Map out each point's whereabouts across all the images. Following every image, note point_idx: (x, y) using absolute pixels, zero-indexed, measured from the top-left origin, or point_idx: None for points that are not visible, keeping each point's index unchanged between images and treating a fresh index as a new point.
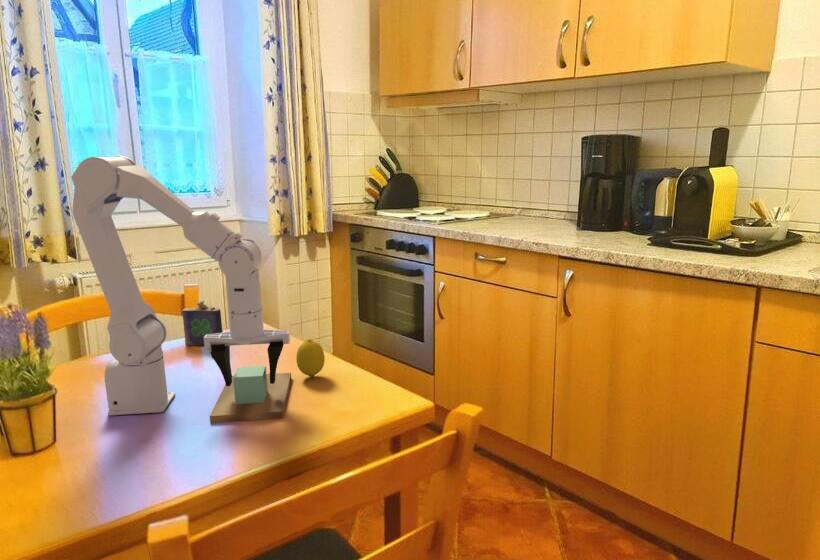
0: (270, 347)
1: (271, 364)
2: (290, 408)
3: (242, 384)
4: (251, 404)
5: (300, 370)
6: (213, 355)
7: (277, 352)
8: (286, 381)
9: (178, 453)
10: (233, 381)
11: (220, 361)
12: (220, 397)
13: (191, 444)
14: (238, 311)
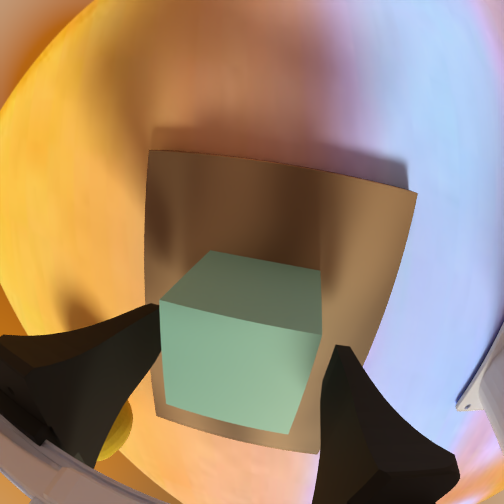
0: (24, 394)
1: (94, 338)
2: (140, 219)
3: (277, 302)
4: (258, 248)
5: (126, 403)
6: (446, 461)
7: (8, 342)
8: (157, 377)
9: (465, 26)
10: (321, 321)
11: (392, 432)
12: (366, 344)
13: (447, 57)
14: None
